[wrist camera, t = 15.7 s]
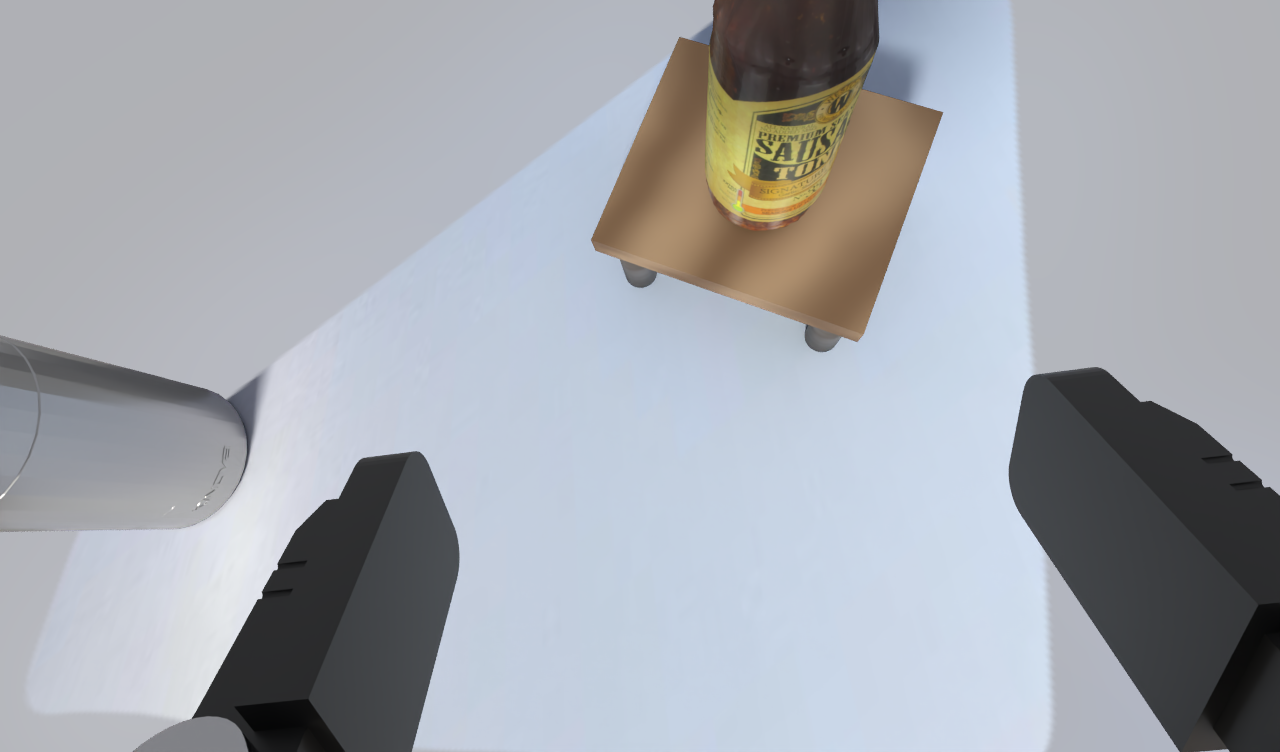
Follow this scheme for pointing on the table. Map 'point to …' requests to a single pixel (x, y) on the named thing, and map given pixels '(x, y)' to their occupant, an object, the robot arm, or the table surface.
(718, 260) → the peg shelf
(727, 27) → the sauce bottle
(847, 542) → the table surface
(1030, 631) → the table surface
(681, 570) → the table surface
